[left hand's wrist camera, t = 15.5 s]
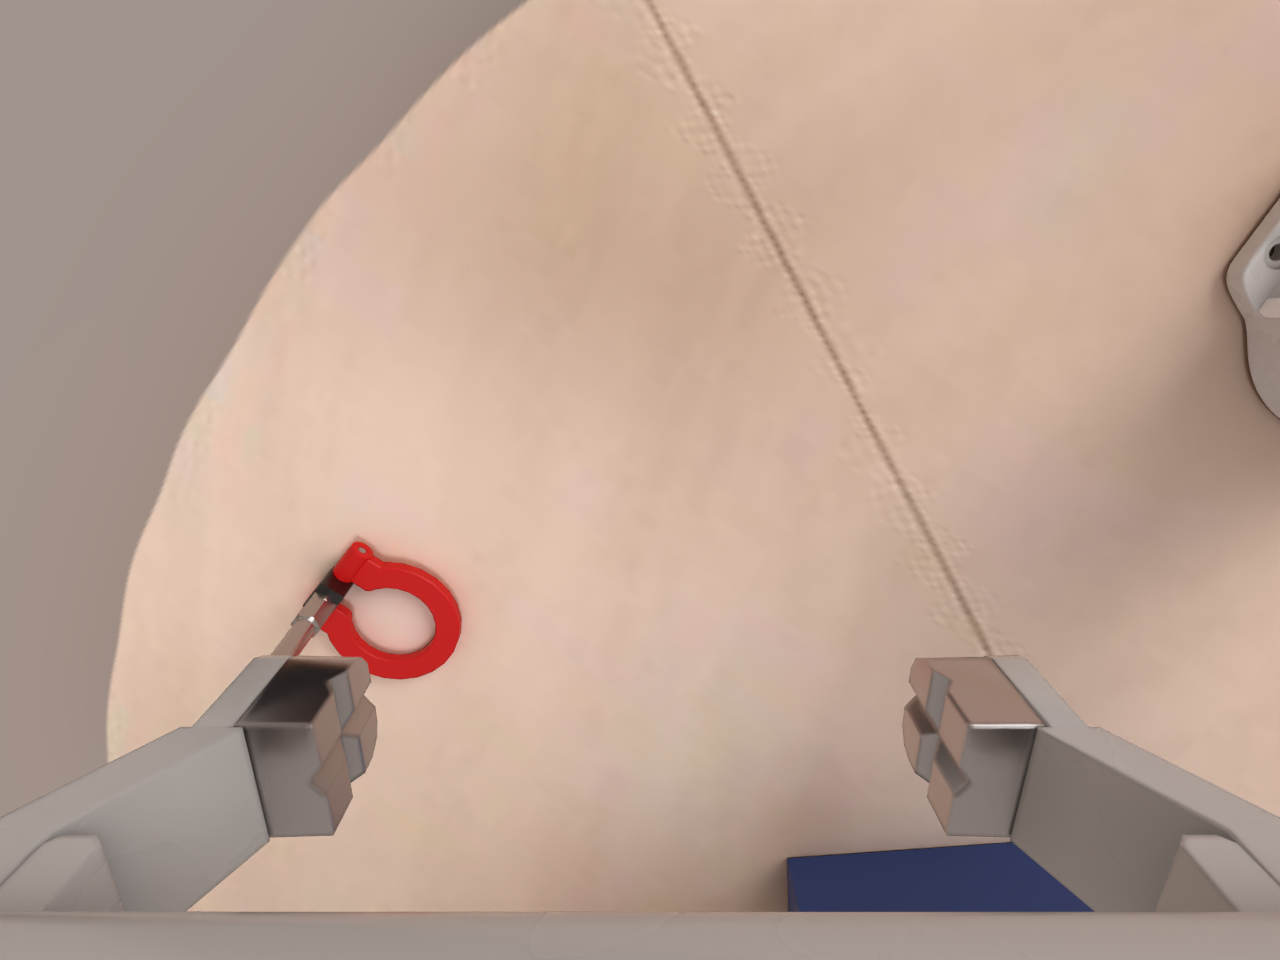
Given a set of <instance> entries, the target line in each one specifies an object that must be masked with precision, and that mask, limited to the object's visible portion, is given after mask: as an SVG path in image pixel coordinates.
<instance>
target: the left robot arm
mask: <svg viewBox="0 0 1280 960" xmlns="http://www.w3.org/2000/svg"><path fill="white" fill-rule="evenodd" d="M1273 246H1274V253H1273V255H1272V256H1271V257H1269V252H1270V250H1271V248H1272V247H1273ZM1226 282H1227V287H1228V290H1229V293H1230V295H1231V297H1232V299H1233V301H1234V303H1235V304H1236V306H1237V308H1238V310H1239V311H1240V313H1241V314H1242V316H1243V318H1244V320H1245V324H1246V331H1247V351H1248V363H1249V368H1250V373H1251V376H1252V380H1253V383H1254V385H1255V388H1256V390H1257V392H1258V394H1259V395H1260V397H1261V399H1262V400H1263V402H1264V403H1265V404H1266V406H1267V407H1268V408H1269V409H1270V410H1271V411H1272V412H1273V413H1274V414H1275V415H1276V416H1277V417H1278V418H1280V198H1279V199H1278V201H1277V202H1276V203H1275V205H1274V206H1273V207H1272V209H1271V210H1270V211H1269V213H1268V214H1267V215H1266V217H1265V218H1264V219H1263V221H1262V222H1261V223H1260V225H1259V226H1258V227H1257V229H1256V230H1255V231H1254V233H1253V234H1252V235H1251V237H1250V238H1249V239H1248V241H1247V242H1246V243H1245V245H1244V246H1243V247H1242V249H1241V250H1240V251H1239V253H1238V254H1237V255H1236V257H1235V258H1234V259H1233V261H1232V263H1231V264H1230V266H1229V268H1228V271H1227V276H1226ZM370 683H371V678H370V673H369V668H368V663H367V662H366V661H365V660H364V659H363V658H362V657H335V656H291V655H290V656H260V657H257V658H254V659H253V660H252V661H251V662H250V663H249V664H248V665H247V666H246V668H245V669H244V670H243V671H242V672H241V673H240V674H239V675H238V676H237V678H236V679H235V680H234V681H233V682H232V683H231V684H230V685H229V686H228V688H227V689H226V690H225V691H224V692H223V693H222V694H221V695H220V696H219V698H218V699H217V700H216V701H215V702H214V703H213V704H212V705H211V706H210V708H209V709H208V710H207V711H206V712H205V713H204V714H203V715H202V716H201V717H200V719H199V720H198V721H197V722H196V723H195V724H194V725H193V726H192V727H180V728H178V729H176V730H174V731H172V732H170V733H168V734H166V735H164V736H162V737H160V738H158V739H156V740H154V741H152V742H150V743H148V744H146V745H144V746H142V747H140V748H138V749H136V750H134V751H132V752H130V753H128V754H126V755H124V756H122V757H120V758H118V759H116V760H114V761H112V762H110V763H108V764H106V765H104V766H102V767H100V768H98V769H96V770H94V771H92V772H90V773H88V774H86V775H84V776H82V777H80V778H78V779H76V780H74V781H72V782H70V783H68V784H66V785H64V786H62V787H60V788H58V789H56V790H54V791H52V792H50V793H48V794H46V795H44V796H42V797H40V798H38V799H36V800H34V801H32V802H30V803H28V804H26V805H24V806H22V807H20V808H18V809H16V810H14V811H12V812H10V813H8V814H6V815H4V816H2V817H0V960H1280V817H1278V816H1276V815H1274V814H1272V813H1270V812H1268V811H1266V810H1264V809H1262V808H1260V807H1258V806H1256V805H1254V804H1252V803H1250V802H1248V801H1246V800H1244V799H1242V798H1240V797H1238V796H1236V795H1234V794H1232V793H1230V792H1228V791H1226V790H1224V789H1222V788H1220V787H1218V786H1216V785H1214V784H1212V783H1210V782H1208V781H1206V780H1204V779H1202V778H1200V777H1198V776H1196V775H1194V774H1192V773H1190V772H1188V771H1186V770H1184V769H1182V768H1180V767H1178V766H1176V765H1174V764H1172V763H1170V762H1168V761H1166V760H1164V759H1162V758H1160V757H1158V756H1156V755H1154V754H1152V753H1150V752H1148V751H1146V750H1144V749H1142V748H1140V747H1138V746H1136V745H1134V744H1132V743H1130V742H1128V741H1126V740H1124V739H1122V738H1120V737H1118V736H1116V735H1114V734H1112V733H1110V732H1108V731H1106V730H1104V729H1102V728H1100V727H1088V726H1087V725H1086V724H1085V723H1084V722H1083V721H1082V720H1081V719H1080V717H1079V716H1078V715H1077V714H1076V713H1075V712H1074V711H1073V710H1072V709H1071V708H1070V706H1069V705H1068V704H1067V703H1066V702H1065V701H1064V700H1063V699H1062V698H1061V696H1060V695H1059V694H1058V693H1057V692H1056V691H1055V690H1054V689H1053V688H1052V686H1051V685H1050V684H1049V683H1048V682H1047V681H1046V680H1045V679H1044V678H1043V676H1042V675H1041V674H1040V673H1039V672H1038V671H1037V670H1036V669H1035V668H1034V666H1033V665H1032V664H1031V663H1030V662H1029V661H1028V660H1027V659H1026V658H1023V657H1021V656H1019V655H1005V656H984V657H946V658H916V659H915V661H914V663H913V665H912V667H911V672H910V678H909V683H910V684H911V686H912V688H913V690H914V691H915V693H916V696H915V697H914V698H913V699H912V700H911V701H910V702H909V703H908V704H907V705H906V706H905V709H904V717H903V725H902V727H903V737H904V746H905V749H906V753H907V756H908V759H909V761H910V763H911V766H912V768H913V770H914V772H915V773H916V774H918V775H919V776H920V777H922V778H923V779H925V780H926V781H927V782H929V789H928V795H927V798H928V800H929V802H930V804H931V806H932V807H933V809H934V811H935V813H936V815H937V817H938V819H939V821H940V823H941V825H942V827H943V829H944V831H945V833H946V835H947V836H982V837H1011V838H1010V841H1011V842H1013V843H1014V844H1015V845H1016V846H1017V847H1019V848H1020V849H1021V850H1022V851H1023V852H1025V853H1026V854H1027V855H1028V856H1029V857H1030V858H1032V859H1033V860H1034V861H1035V862H1036V863H1038V864H1039V865H1040V866H1041V867H1042V868H1044V869H1045V870H1046V871H1047V872H1048V873H1049V874H1051V875H1052V876H1053V877H1054V878H1055V879H1057V880H1058V881H1059V882H1060V883H1061V884H1063V885H1064V886H1065V887H1066V888H1067V889H1068V890H1070V891H1071V892H1072V893H1073V894H1074V895H1076V896H1077V897H1078V898H1079V899H1080V900H1082V901H1083V902H1084V903H1085V904H1086V905H1087V906H1089V907H1090V908H1091V909H1092V910H1093V911H1095V912H186V911H187V910H188V909H189V908H190V907H192V906H193V905H194V904H195V903H196V902H198V901H199V900H200V899H201V898H202V897H203V896H205V895H206V894H207V893H208V892H209V891H211V890H212V889H213V888H214V887H215V886H217V885H218V884H219V883H220V882H221V881H223V880H224V879H225V878H226V877H227V876H228V875H230V874H231V873H232V872H233V871H234V870H236V869H237V868H238V867H239V866H240V865H242V864H243V863H244V862H245V861H246V860H247V859H249V858H250V857H251V856H252V855H253V854H255V853H256V852H257V851H258V850H259V849H261V848H262V847H263V846H264V845H265V844H267V843H268V842H269V841H270V838H269V837H297V836H331V835H334V833H335V831H336V829H337V827H338V825H339V823H340V821H341V819H342V817H343V815H344V813H345V811H346V809H347V808H348V806H349V804H350V802H351V800H352V798H353V795H352V789H351V782H353V781H354V780H355V779H357V778H358V777H360V776H361V775H362V774H364V773H365V772H366V770H367V768H368V765H369V763H370V761H371V759H372V757H373V753H374V748H375V744H376V739H377V715H376V708H375V706H374V705H373V704H372V703H371V702H370V701H369V700H368V699H367V698H366V697H365V696H364V693H365V691H366V690H367V688H368V686H369V684H370Z"/></svg>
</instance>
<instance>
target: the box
mask: <svg viewBox="0 0 1280 960" xmlns="http://www.w3.org/2000/svg"><path fill="white" fill-rule="evenodd" d="M787 876H788V912H1095V911H1093V910H1092V909H1091V908H1090V907H1089V906H1087V905H1086V904H1085V903H1084V902H1083V901H1082V900H1080V899H1079V898H1078V897H1077V896H1076V895H1074V894H1073V893H1072V892H1071V891H1070V890H1068V889H1067V888H1066V887H1065V886H1064V885H1063V884H1061V883H1060V882H1059V881H1058V880H1057V879H1055V878H1054V877H1053V876H1052V875H1051V874H1049V873H1048V872H1047V871H1046V870H1045V869H1044V868H1042V867H1041V866H1040V865H1039V864H1038V863H1036V862H1035V861H1034V860H1033V859H1032V858H1030V857H1029V856H1028V855H1027V854H1026V853H1025V852H1023V851H1022V850H1021V849H1020V848H1019V847H1017V846H1016V845H1015V844H1014V843H1013V842H1012V843H997V844H983V845H969V846H955V847H941V848H927V849H912V850H898V851H884V852H870V853H856V854H842V855H827V856H813V857H799V858H787Z"/></svg>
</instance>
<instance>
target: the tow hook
mask: <svg viewBox="0 0 1280 960" xmlns="http://www.w3.org/2000/svg"><path fill="white" fill-rule="evenodd" d="M353 583H354V584H356V585H357V586H359V587H360V588H362V589H364V590H365V591H372V590H375V589H382V588H393V589H399V590H403V591H406V592H409V593H411V594H412V595H414V596H416V597H418V598H419V599H420V600H421V601H422V602H424V603H425V604H426V605H427V606H428V608H429V610H430V611H431V613H432V614H433V617H434V620H435V624H436V631H435V636H434V638H433V640H432V641H431V642H430V643H429V645H427V646H426V647H424V648H423V649H421V650H419V651H417V652H414V653H411V654H404V655H396V654H388V653H385V652H382V651H379V650H377V649H375V648H373V647H371V646H370V645H368V644H367V643H366V642H365V641H364V640H363V639H361V637H360V636H359V634H358V633H357V631H356V630H355V628H354V625H353V622H352V613H351V611H350V610H349V609H348V608H346V607H345V606H343V605H341V604H340V602H341V601H342V600H343V598H344V597H345V595H346V594H347V592H348V591H349V589H350V588H351V586H352V585H353ZM291 626H292V627H291V629H290V630H289V631H288V633H287V634H286V635H285V637H284V638H283V639H282V641H281V642H280V643H279V644H278V646H277V647H276V648H275V650H274V651H273V652H272V654H271V655H270V656H290V655H291V656H299V654H300V653H301V651H302V650H303V649H304V647H305V646H306V644H307V643H308V641H309V640H310V638H313V637H314V636H315V635H316V634H317V633H318V631H319V630H320V629H321V630H322V631H324V632H326V633H327V634H328V636H329V639H330V641H331V643H332V644H333V646H334V647H335V648H336V650H337V651H338V653H339V654H340V655H341V656H343V657H362V658H363V659H364V660H365V661H366V662H367V663H368V668H369V673H370V674H372V675H376V676H379V677H383V678H391V679H408V678H415V677H419V676H422V675H425V674H428V673H430V672H433V671H434V670H435V669H437V668H438V667H440V666H441V665H443V664H444V663H445V662H446V661H447V659H448V658H449V657H450V656H451V654H452V653H453V652H454V650H455V647H456V644H457V642H458V639H459V636H460V633H461V616H460V612H459V608H458V605H457V603H456V601H455V599H454V598H453V596H452V595H451V593H450V591H449V590H448V589H447V588H446V587H445V586H444V585H443V584H442V583H441V582H440V581H439V580H438V579H437V578H435V577H433V576H432V575H430V574H428V573H427V572H425V571H423V570H422V569H419V568H416V567H413V566H410V565H406V564H402V563H392V562H383V561H381V560H380V559H378V558H376V557H375V556H373V552H372V550H371V548H370V547H369V546H367V545H366V544H364V543H361V542H354V543H353V544H352V545H351V546H350V548H349V549H348V550H347V552H346V553H345V554H344V555H343V557H342V558H341V559H340V561H339V562H338V563H337V564H336V566H335V567H333V568H332V569H331V570H330V571H329V572H328V574H327V575H326V576H325V577H324V579H323V580H322V581H321V583H320V584H319V585H318V586H317V588H316V589H315V590H314V592H313V593H312V594H311V596H310V597H309V598H308V600H307V601H306V602H305V603H304V605H303V608H302V610H301V611H300V612H299V613H298V615H297V616H296V618H295V619H294V620H293V622H292V623H291Z"/></svg>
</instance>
